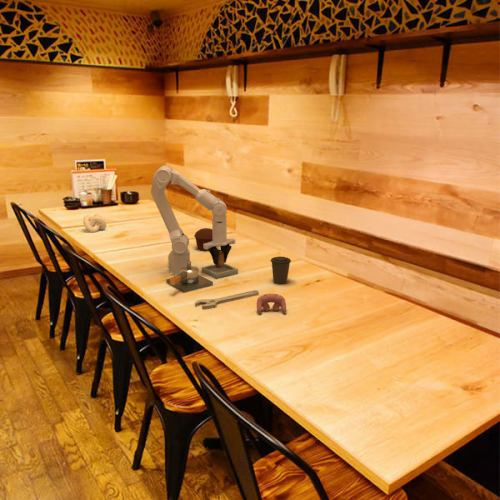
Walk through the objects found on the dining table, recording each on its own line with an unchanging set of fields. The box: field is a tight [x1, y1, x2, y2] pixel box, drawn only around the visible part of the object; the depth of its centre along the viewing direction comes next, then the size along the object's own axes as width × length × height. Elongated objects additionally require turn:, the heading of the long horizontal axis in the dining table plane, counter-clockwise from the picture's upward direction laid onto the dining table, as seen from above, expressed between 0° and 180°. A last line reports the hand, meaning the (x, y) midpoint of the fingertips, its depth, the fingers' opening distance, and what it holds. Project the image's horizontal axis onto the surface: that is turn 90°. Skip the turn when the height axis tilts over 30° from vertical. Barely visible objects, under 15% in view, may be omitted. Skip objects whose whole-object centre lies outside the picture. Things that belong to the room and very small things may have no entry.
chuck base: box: [166, 274, 214, 293], centre depth 182 cm, size 13×13×2 cm
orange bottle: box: [214, 249, 224, 268], centre depth 194 cm, size 4×4×7 cm
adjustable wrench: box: [194, 289, 260, 310], centre depth 167 cm, size 25×6×2 cm, turn 118°
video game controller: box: [256, 293, 287, 315], centre depth 158 cm, size 10×5×7 cm, turn 93°
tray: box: [201, 263, 239, 280], centre depth 195 cm, size 11×11×2 cm
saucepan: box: [169, 260, 199, 286], centre depth 177 cm, size 16×7×7 cm, turn 159°
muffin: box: [193, 227, 213, 252], centre depth 228 cm, size 12×11×10 cm
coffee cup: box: [270, 255, 292, 285], centre depth 184 cm, size 8×8×10 cm
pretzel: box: [82, 213, 107, 233], centre depth 260 cm, size 11×12×9 cm
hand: (219, 263), depth 194 cm, fingers closed on orange bottle, 4 cm apart
